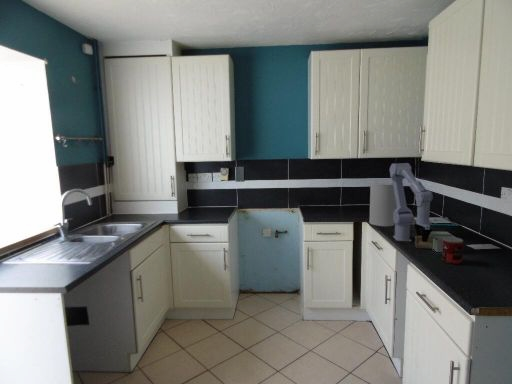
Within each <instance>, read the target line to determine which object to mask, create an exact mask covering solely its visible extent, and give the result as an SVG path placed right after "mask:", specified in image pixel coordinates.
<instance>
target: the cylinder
mask: <svg viewBox="0 0 512 384" xmlns="http://www.w3.org/2000/svg"><path fill="white" fill-rule="evenodd" d="M369 185H370V187H369V188H370V190H369V191H370V193H369V194H370V195H369V224H371V225H373V226H378V227H392V226H393V227H395V225H396V224H395V223H394V221H393V212H394V211H395V210H396V209H397V205H396V199H395V193H394V187H393V182H384V183H383V182H374V183H373V182H370V184H369Z"/></svg>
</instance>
